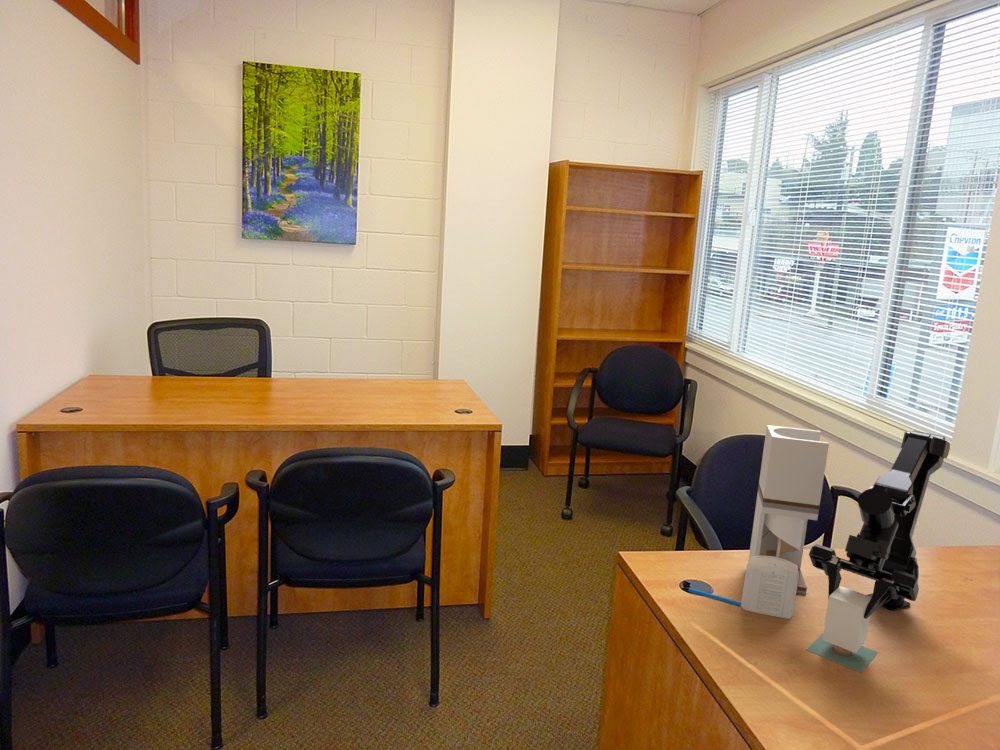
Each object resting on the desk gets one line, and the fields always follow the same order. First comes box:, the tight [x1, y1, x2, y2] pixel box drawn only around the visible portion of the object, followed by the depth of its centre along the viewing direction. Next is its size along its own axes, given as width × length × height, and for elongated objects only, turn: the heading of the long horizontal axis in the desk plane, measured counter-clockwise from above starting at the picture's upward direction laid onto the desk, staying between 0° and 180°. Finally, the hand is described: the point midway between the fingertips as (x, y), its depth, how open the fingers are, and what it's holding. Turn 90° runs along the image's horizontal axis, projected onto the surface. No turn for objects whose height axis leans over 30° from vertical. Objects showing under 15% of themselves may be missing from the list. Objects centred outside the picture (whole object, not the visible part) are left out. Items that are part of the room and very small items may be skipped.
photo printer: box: [740, 556, 799, 619], centre depth 155 cm, size 10×4×12 cm, turn 72°
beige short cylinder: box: [832, 644, 852, 656], centre depth 141 cm, size 3×3×2 cm
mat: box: [805, 632, 879, 674], centre depth 142 cm, size 10×10×1 cm
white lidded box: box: [822, 585, 872, 653], centre depth 140 cm, size 6×6×9 cm
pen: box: [681, 586, 741, 607], centre depth 160 cm, size 1×19×1 cm, turn 61°
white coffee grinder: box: [747, 424, 830, 595], centre depth 167 cm, size 11×11×35 cm
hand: (846, 611), depth 139 cm, fingers closed on white lidded box, 6 cm apart
